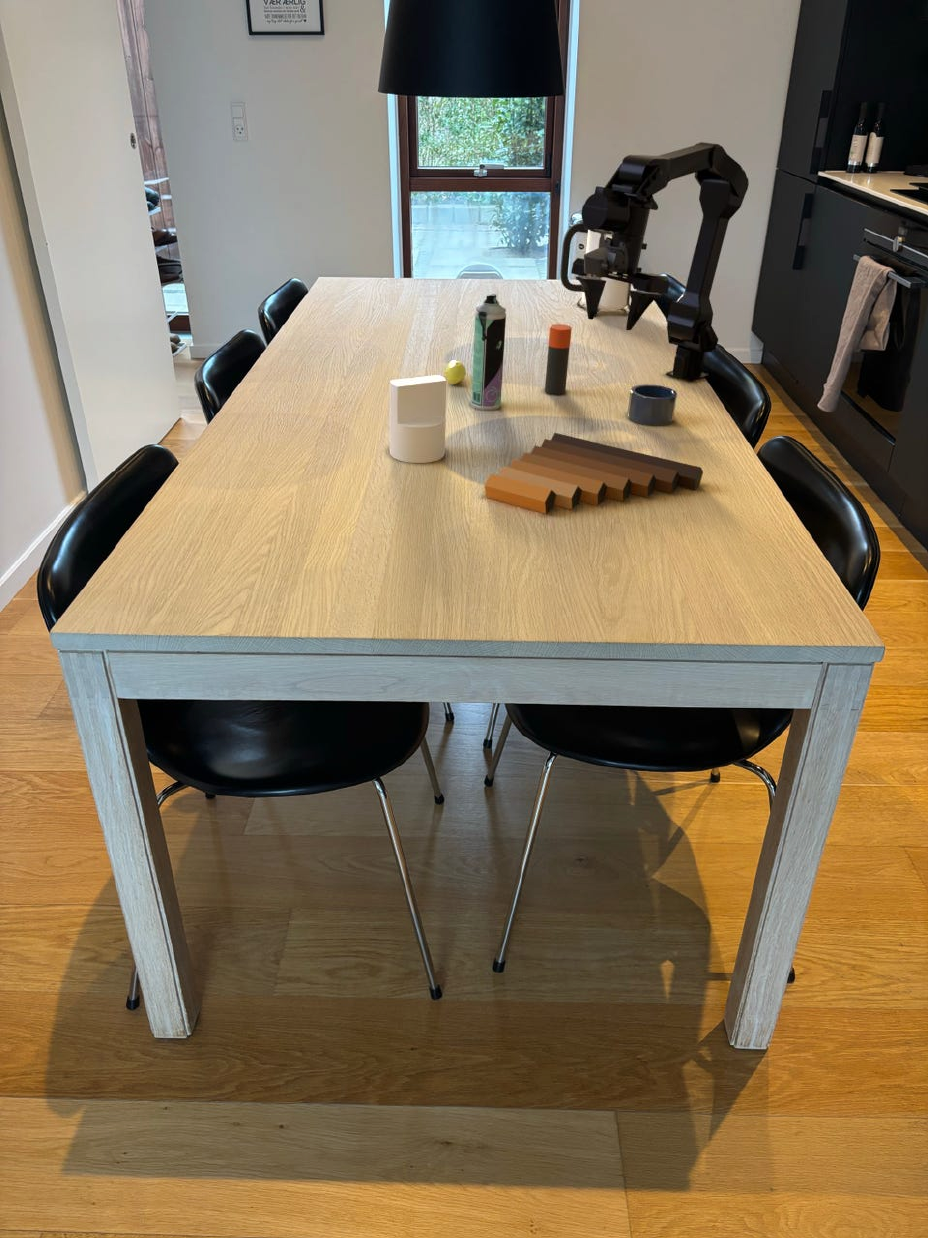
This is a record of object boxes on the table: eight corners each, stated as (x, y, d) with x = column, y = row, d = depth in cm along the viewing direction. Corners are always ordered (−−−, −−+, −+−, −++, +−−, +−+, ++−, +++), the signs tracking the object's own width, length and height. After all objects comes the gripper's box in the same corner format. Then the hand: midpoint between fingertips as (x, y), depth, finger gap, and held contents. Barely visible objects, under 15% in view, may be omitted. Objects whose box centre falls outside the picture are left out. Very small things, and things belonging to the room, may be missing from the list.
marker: (553, 386, 190) (559, 322, 184) (569, 392, 188) (576, 327, 181) (540, 391, 188) (545, 326, 181) (556, 396, 185) (562, 330, 179)
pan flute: (700, 484, 151) (557, 448, 162) (704, 463, 149) (559, 429, 160) (641, 542, 132) (483, 498, 143) (644, 520, 131) (484, 477, 141)
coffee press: (589, 300, 255) (602, 176, 240) (643, 310, 247) (660, 183, 232) (555, 311, 243) (566, 181, 227) (611, 323, 235) (626, 189, 220)
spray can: (497, 411, 176) (504, 299, 166) (468, 408, 177) (473, 296, 167) (502, 402, 181) (509, 292, 171) (474, 399, 182) (479, 289, 172)
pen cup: (644, 407, 182) (648, 381, 179) (681, 419, 177) (685, 392, 174) (618, 416, 177) (621, 390, 174) (655, 429, 172) (659, 401, 169)
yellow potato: (441, 386, 188) (442, 366, 186) (447, 374, 195) (448, 354, 193) (462, 387, 187) (463, 368, 185) (468, 375, 194) (469, 356, 192)
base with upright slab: (403, 466, 152) (403, 392, 146) (380, 446, 159) (380, 375, 153) (454, 458, 156) (456, 385, 150) (429, 439, 163) (431, 369, 157)
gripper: (559, 222, 171) (543, 312, 177) (641, 239, 159) (620, 335, 166) (599, 227, 178) (582, 314, 185) (680, 244, 166) (659, 336, 173)
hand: (609, 324), depth 177 cm, fingers open, 9 cm apart
